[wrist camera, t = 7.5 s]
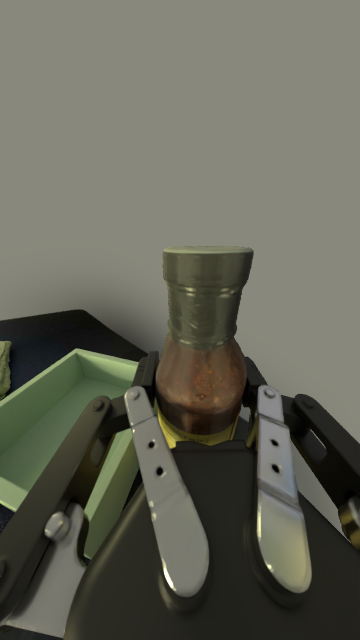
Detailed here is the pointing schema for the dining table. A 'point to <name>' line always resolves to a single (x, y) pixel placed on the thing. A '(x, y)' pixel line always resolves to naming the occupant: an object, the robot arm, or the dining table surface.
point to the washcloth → (4, 368)
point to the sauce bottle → (202, 344)
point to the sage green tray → (54, 425)
